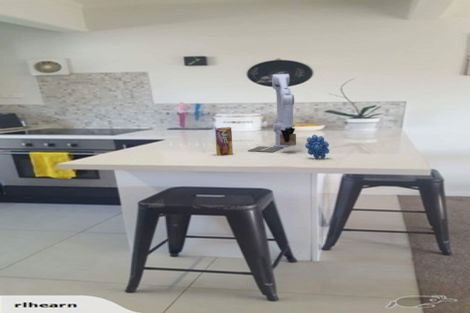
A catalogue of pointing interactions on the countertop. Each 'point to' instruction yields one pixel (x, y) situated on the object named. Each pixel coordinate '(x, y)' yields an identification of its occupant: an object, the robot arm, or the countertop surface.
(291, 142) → the walnut block
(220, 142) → the candy box
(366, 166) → the countertop surface
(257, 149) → the mat
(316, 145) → the blue knobbed wheel
